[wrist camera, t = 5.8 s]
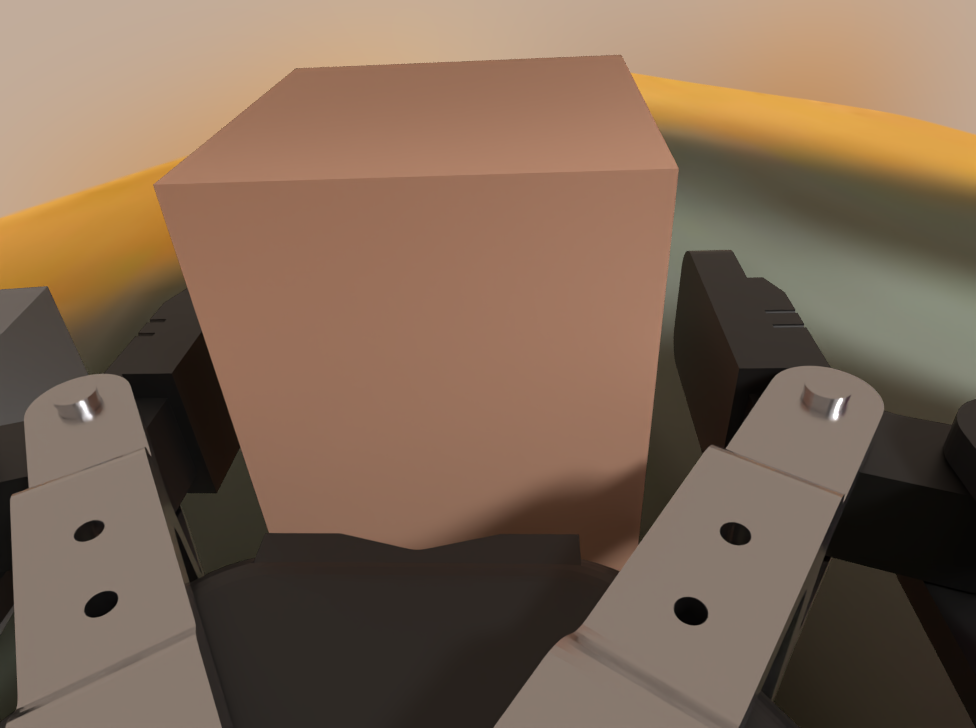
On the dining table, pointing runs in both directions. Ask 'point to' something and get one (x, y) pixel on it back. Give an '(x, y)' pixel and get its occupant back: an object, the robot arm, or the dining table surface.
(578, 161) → the terracotta block
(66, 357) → the grey base block
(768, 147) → the dining table surface
